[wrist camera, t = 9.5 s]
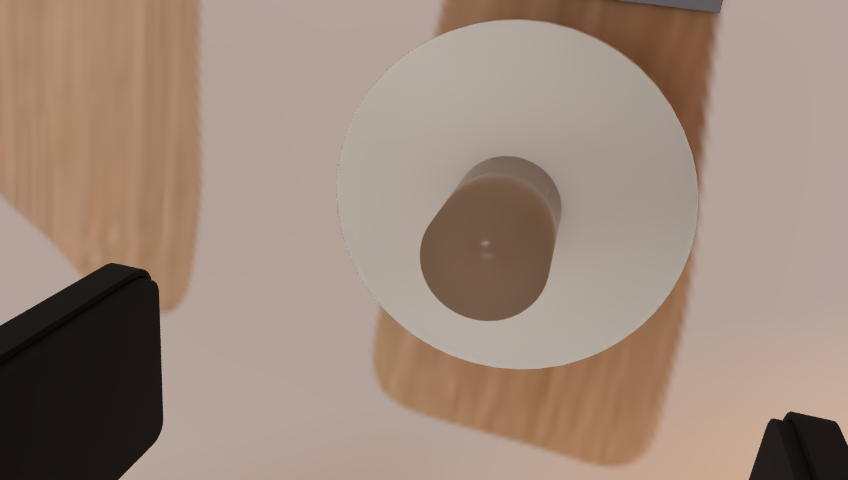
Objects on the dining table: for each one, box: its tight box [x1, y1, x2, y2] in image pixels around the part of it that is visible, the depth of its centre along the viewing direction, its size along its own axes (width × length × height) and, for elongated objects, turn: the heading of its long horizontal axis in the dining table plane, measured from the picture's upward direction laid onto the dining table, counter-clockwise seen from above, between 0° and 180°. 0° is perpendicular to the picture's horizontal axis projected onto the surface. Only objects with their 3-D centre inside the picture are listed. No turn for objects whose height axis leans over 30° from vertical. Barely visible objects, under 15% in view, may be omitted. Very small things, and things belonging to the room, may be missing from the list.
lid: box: [336, 19, 699, 369], centre depth 21 cm, size 11×11×6 cm
